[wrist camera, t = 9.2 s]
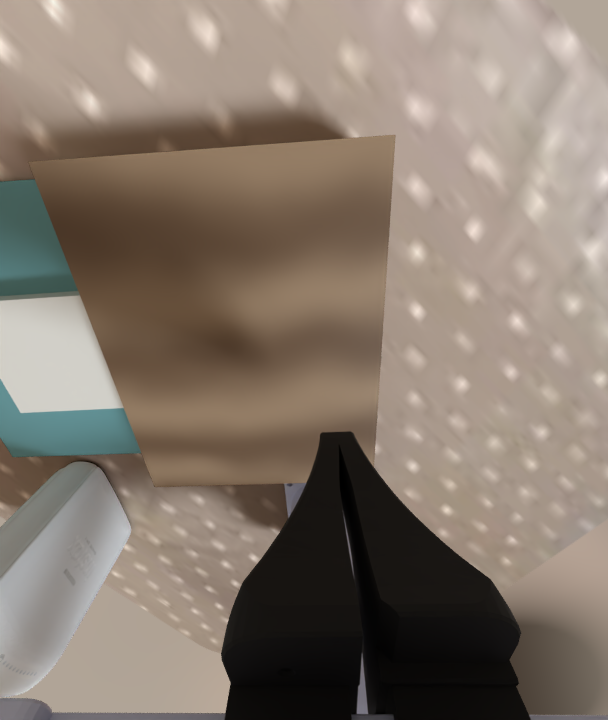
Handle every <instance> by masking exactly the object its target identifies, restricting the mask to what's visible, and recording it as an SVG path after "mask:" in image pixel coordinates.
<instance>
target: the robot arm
mask: <svg viewBox="0 0 608 720" xmlns="http://www.w3.org/2000/svg"><path fill="white" fill-rule="evenodd" d="M284 486H285V495H286V503H287V512H288V520H287V522H286V523H285V525H284V527H283V528H282V530H281V531H280V533H279V534H278V536H277V537H276V539H275V540H274V542H273V543H272V545H271V546H270V547H269V549H268V550H267V552H266V553H265V555H264V556H263V557H262V559H261V560H260V561H259V562H258V564H257V565H256V566H255V567H254V569H253V570H252V571H251V572H250V574H249V575H248V576H247V578H246V579H245V580H244V581H243V583H242V586H241V588H240V590H239V593H238V595H237V597H236V600H235V603H234V605H233V608H232V611H231V614H230V617H229V621H228V624H227V628H226V633H225V638H224V643H223V647H222V652H221V656H222V662H223V664H224V667H225V669H226V672H227V675H228V677H229V680H230V682H231V685H230V690H229V696H228V702H227V708H226V713H221V714H220V713H52V711H51V709H50V707H49V706H48V705H47V704H45V703H44V702H42V701H39V700H35V699H28V698H27V699H26V698H0V720H608V715H529V714H528V712H527V710H526V707H525V705H524V703H523V701H522V699H521V696H520V694H519V692H518V690H517V688H516V686H517V685H518V684H519V683H518V678H517V676H516V674H515V672H514V669H513V667H512V665H511V663H510V661H509V659H510V658H511V656H512V654H513V652H514V650H515V648H516V646H517V645H518V642H519V638H520V634H521V632H520V628H519V625H518V624H517V622H516V620H515V618H514V616H513V614H512V612H511V610H510V609H509V607H508V605H507V604H506V602H505V601H504V599H503V597H502V596H501V594H500V593H499V591H498V590H497V588H496V587H495V585H494V584H493V582H492V581H491V579H489V578H488V577H487V576H485V575H484V574H483V573H481V572H480V571H479V570H477V569H476V568H475V567H473V566H472V565H471V564H469V563H468V562H467V561H465V560H464V559H463V558H462V557H460V556H459V555H458V554H457V553H455V552H454V551H453V550H452V549H451V548H450V547H448V546H447V545H446V544H445V543H444V542H442V541H441V540H440V539H439V538H438V537H437V536H436V535H435V534H434V533H433V532H431V531H430V530H429V529H428V528H427V527H426V526H425V525H424V524H423V523H422V522H421V521H420V520H419V519H418V518H417V517H416V516H415V515H414V514H413V513H412V512H411V511H410V510H409V509H408V508H407V507H406V506H405V505H404V504H403V503H402V502H401V501H400V500H399V498H398V497H397V496H396V495H395V494H394V493H393V491H392V490H391V489H390V488H389V487H388V485H387V484H386V483H385V482H384V480H383V479H382V478H381V476H380V475H379V474H378V472H377V471H376V470H375V468H374V467H373V465H372V464H371V462H370V461H369V459H368V458H367V456H366V455H365V453H364V452H363V450H362V448H361V447H360V445H359V443H358V441H357V439H356V437H355V435H354V433H352V432H351V431H347V432H322V433H321V434H320V440H319V446H318V451H317V455H316V458H315V461H314V464H313V467H312V470H311V473H310V475H309V478H308V480H307V482H306V483H286V484H284Z"/></svg>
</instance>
